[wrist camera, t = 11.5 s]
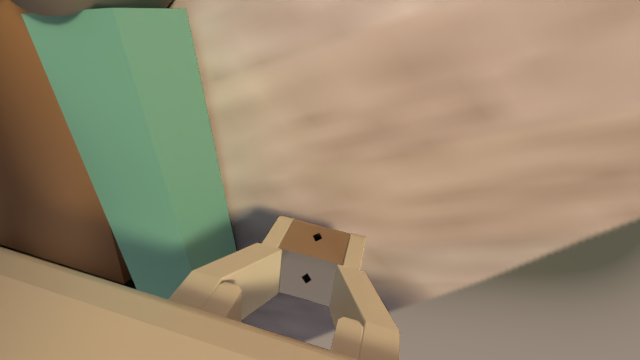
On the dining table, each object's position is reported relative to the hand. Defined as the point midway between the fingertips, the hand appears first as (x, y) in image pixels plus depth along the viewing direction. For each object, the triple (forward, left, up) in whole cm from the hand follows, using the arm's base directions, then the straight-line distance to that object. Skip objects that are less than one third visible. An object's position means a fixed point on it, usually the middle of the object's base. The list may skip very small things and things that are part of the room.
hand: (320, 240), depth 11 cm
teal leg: (-6, +3, -1) cm, 7 cm away
